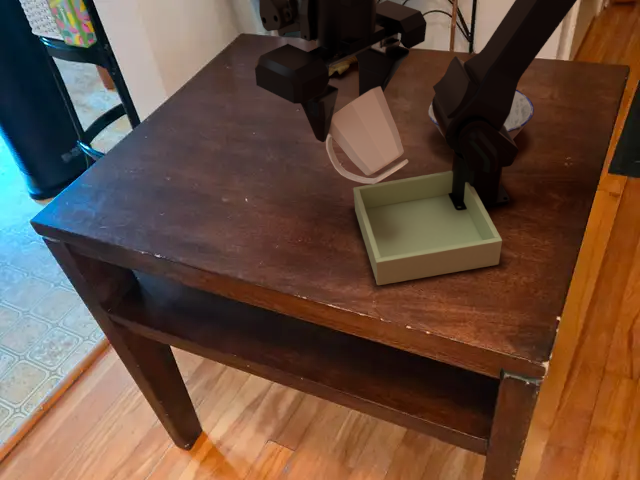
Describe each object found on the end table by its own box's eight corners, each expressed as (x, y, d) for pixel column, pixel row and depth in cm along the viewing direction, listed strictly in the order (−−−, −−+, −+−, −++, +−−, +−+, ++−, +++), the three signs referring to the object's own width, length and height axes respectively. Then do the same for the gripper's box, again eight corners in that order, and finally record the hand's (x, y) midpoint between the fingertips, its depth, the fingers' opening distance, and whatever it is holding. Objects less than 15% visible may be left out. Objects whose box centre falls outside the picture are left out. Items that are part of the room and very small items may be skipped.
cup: (393, 174, 58) (350, 100, 57) (334, 207, 66) (294, 143, 65) (432, 147, 62) (392, 77, 61) (371, 181, 70) (335, 120, 69)
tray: (498, 264, 64) (502, 240, 61) (377, 285, 64) (376, 262, 61) (461, 191, 73) (463, 168, 70) (355, 210, 73) (353, 187, 70)
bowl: (544, 127, 80) (550, 93, 77) (501, 178, 74) (506, 144, 70) (457, 105, 86) (459, 73, 83) (410, 150, 80) (410, 117, 76)
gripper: (350, -74, 61) (347, 74, 73) (205, -26, 52) (228, 134, 64) (438, -51, 56) (420, 105, 67) (294, 7, 47) (301, 175, 58)
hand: (343, 127), depth 64 cm, fingers closed on cup, 6 cm apart
